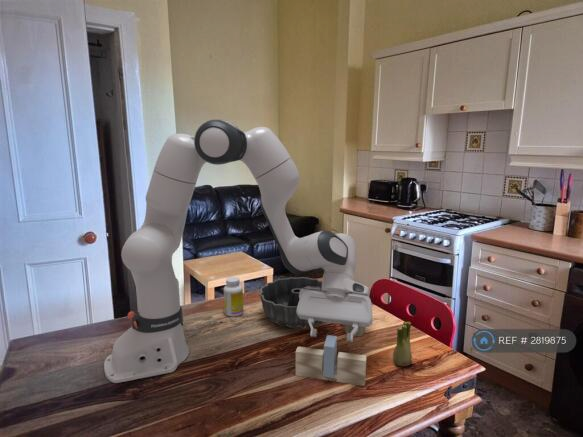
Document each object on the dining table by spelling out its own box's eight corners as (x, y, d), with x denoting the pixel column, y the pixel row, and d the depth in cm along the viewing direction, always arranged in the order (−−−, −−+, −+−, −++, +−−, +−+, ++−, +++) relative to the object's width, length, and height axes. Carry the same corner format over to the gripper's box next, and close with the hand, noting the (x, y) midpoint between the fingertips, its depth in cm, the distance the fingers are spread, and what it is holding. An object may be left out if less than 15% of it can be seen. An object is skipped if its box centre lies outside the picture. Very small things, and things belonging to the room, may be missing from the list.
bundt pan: (249, 331, 123) (248, 302, 121) (271, 298, 148) (270, 274, 146) (330, 340, 117) (330, 310, 115) (338, 304, 142) (339, 279, 140)
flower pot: (369, 341, 116) (370, 315, 114) (338, 338, 118) (339, 312, 116) (369, 326, 125) (370, 302, 123) (340, 324, 127) (341, 300, 125)
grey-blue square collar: (333, 377, 95) (334, 347, 93) (323, 376, 96) (323, 346, 94) (336, 365, 100) (337, 336, 99) (326, 363, 101) (327, 334, 99)
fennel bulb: (396, 370, 102) (399, 329, 99) (387, 359, 106) (390, 320, 104) (415, 366, 103) (418, 326, 101) (405, 356, 108) (408, 318, 106)
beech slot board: (365, 380, 98) (366, 355, 96) (364, 386, 95) (365, 361, 94) (297, 369, 102) (297, 346, 100) (295, 375, 99) (295, 351, 98)
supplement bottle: (246, 311, 137) (246, 277, 134) (236, 318, 131) (235, 283, 128) (231, 307, 140) (230, 274, 137) (220, 315, 134) (219, 280, 131)
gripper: (299, 280, 104) (290, 329, 97) (374, 288, 100) (370, 340, 92) (302, 289, 110) (294, 337, 102) (374, 297, 105) (370, 347, 97)
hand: (331, 338), depth 97 cm, fingers open, 8 cm apart
